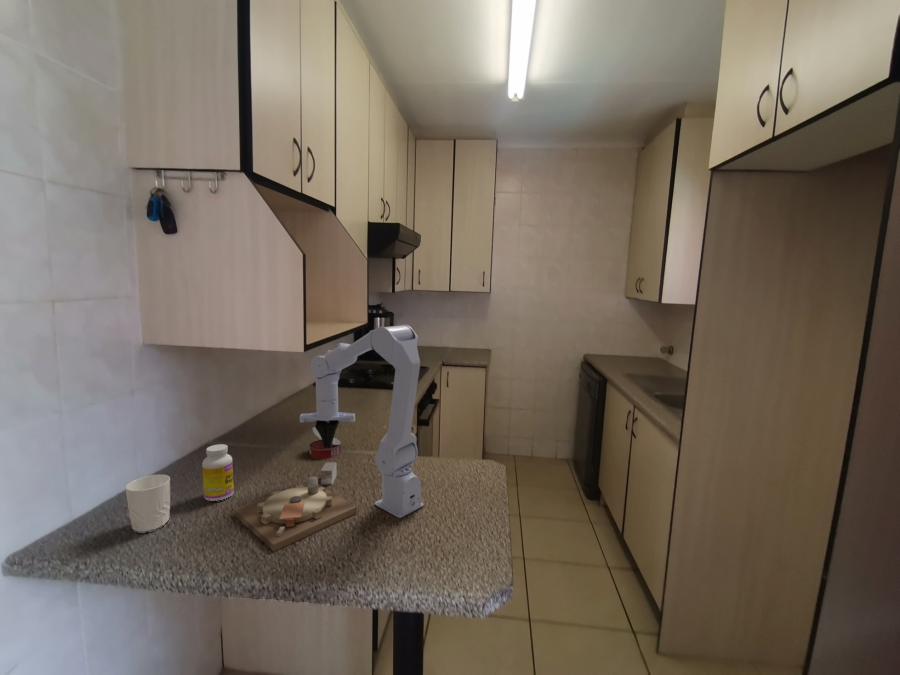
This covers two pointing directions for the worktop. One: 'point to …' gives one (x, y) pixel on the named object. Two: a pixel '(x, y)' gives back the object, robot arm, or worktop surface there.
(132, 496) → the white cup
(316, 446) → the canned food
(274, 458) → the worktop surface
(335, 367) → the robot arm
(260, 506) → the sprocket wheel
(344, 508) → the base board
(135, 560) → the worktop surface
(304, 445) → the worktop surface
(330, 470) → the link block
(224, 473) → the supplement bottle
